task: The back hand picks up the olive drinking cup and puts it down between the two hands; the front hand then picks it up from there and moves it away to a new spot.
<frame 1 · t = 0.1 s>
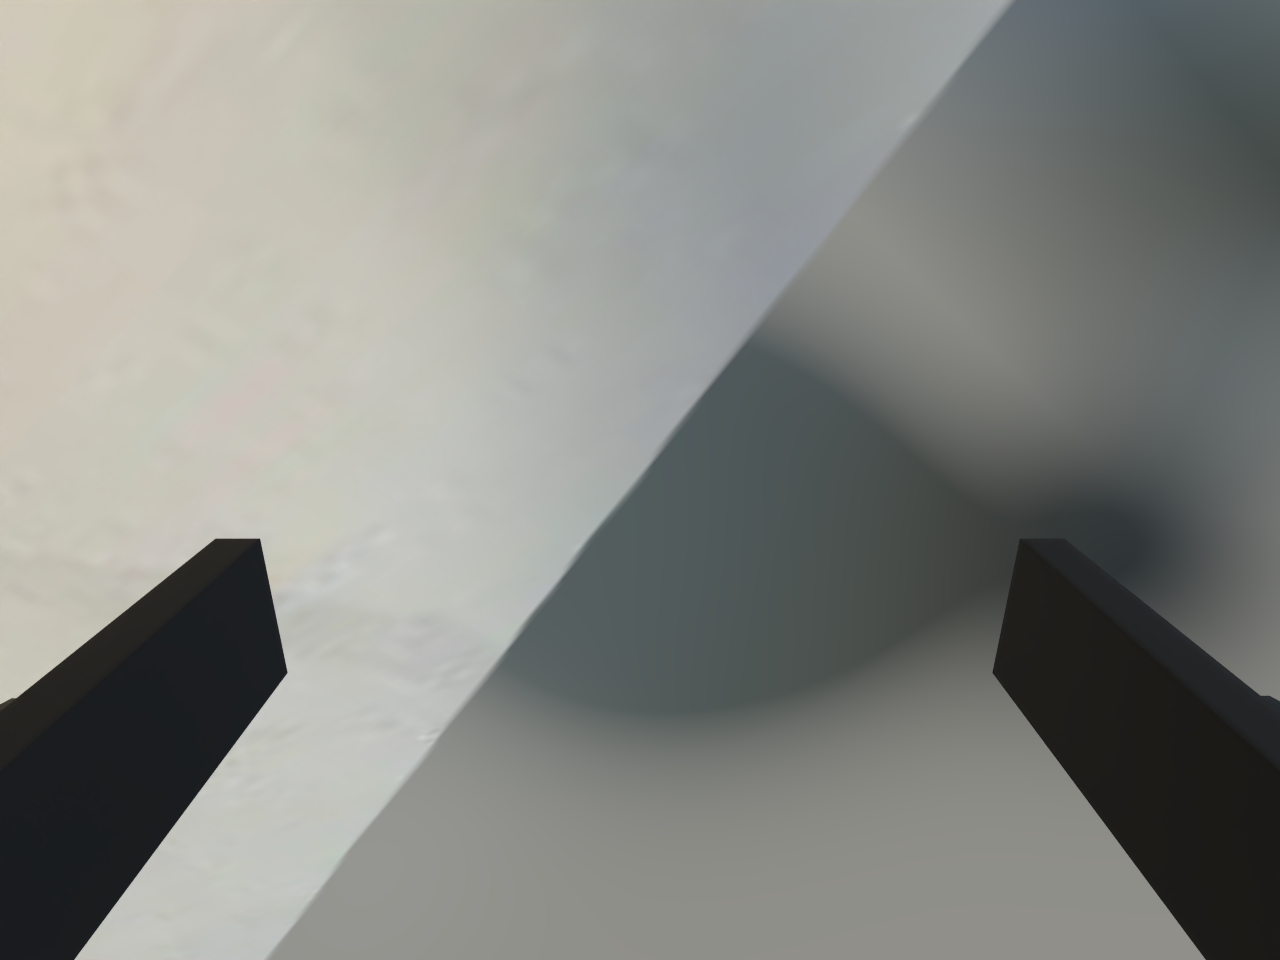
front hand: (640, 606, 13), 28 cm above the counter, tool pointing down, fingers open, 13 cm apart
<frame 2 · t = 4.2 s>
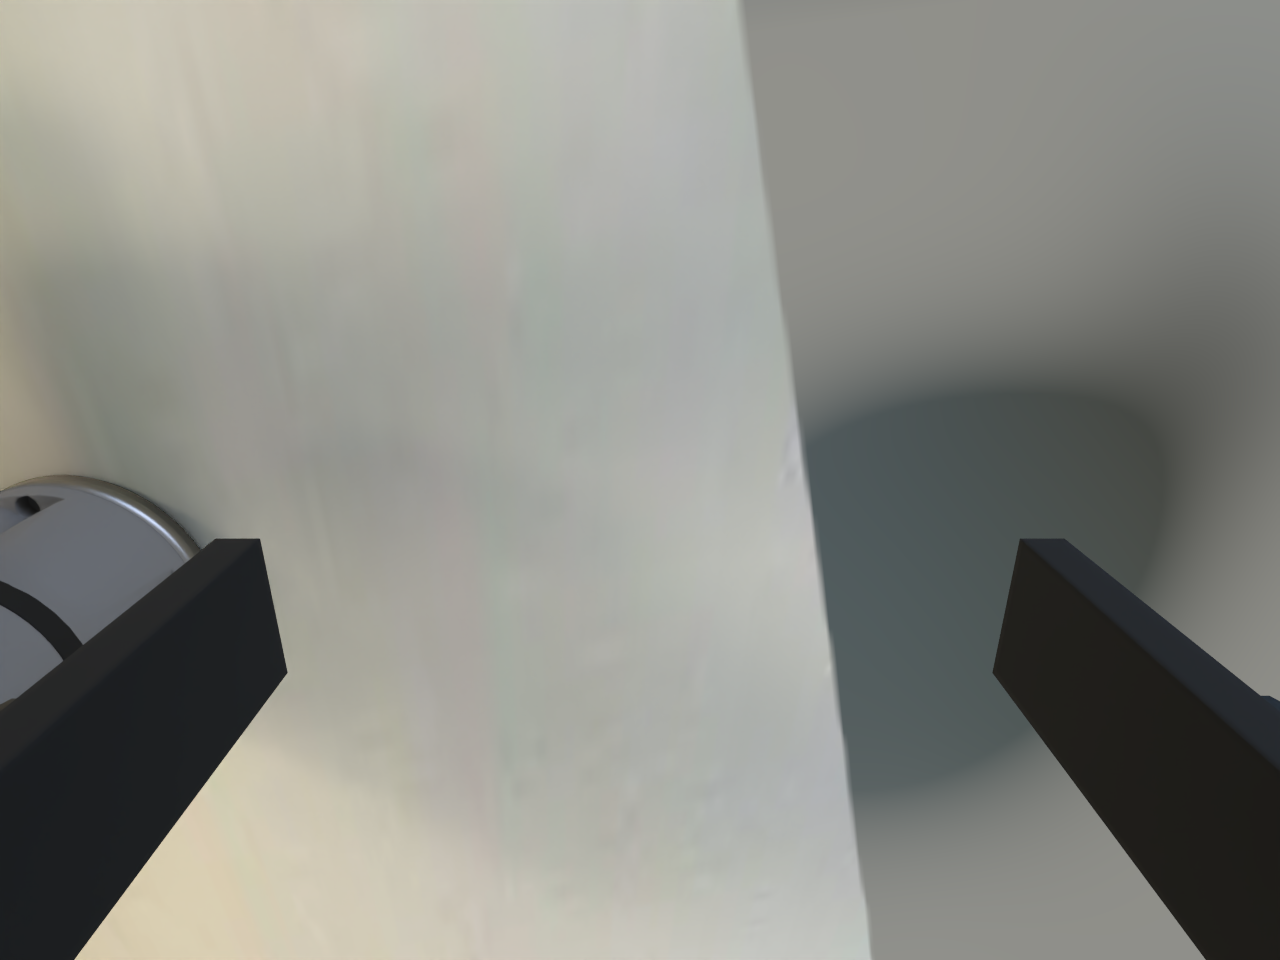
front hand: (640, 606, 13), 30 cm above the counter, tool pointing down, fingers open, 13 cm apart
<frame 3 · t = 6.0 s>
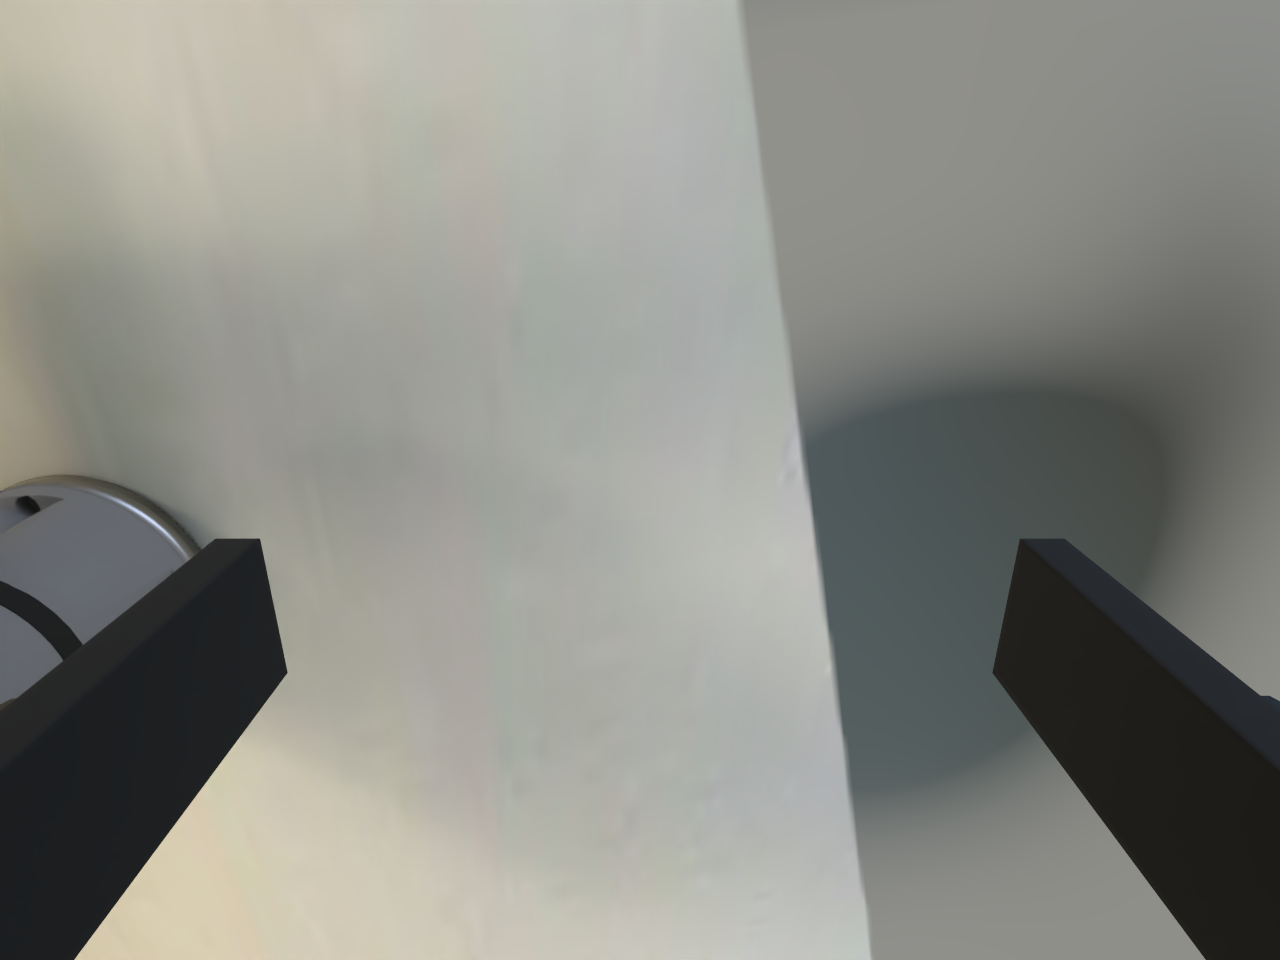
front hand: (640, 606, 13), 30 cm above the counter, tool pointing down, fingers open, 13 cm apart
when the back hand's fingers open (8 cm above the counter, at t = 8.1 s): olive drinking cup drops 2 cm, on the counter.
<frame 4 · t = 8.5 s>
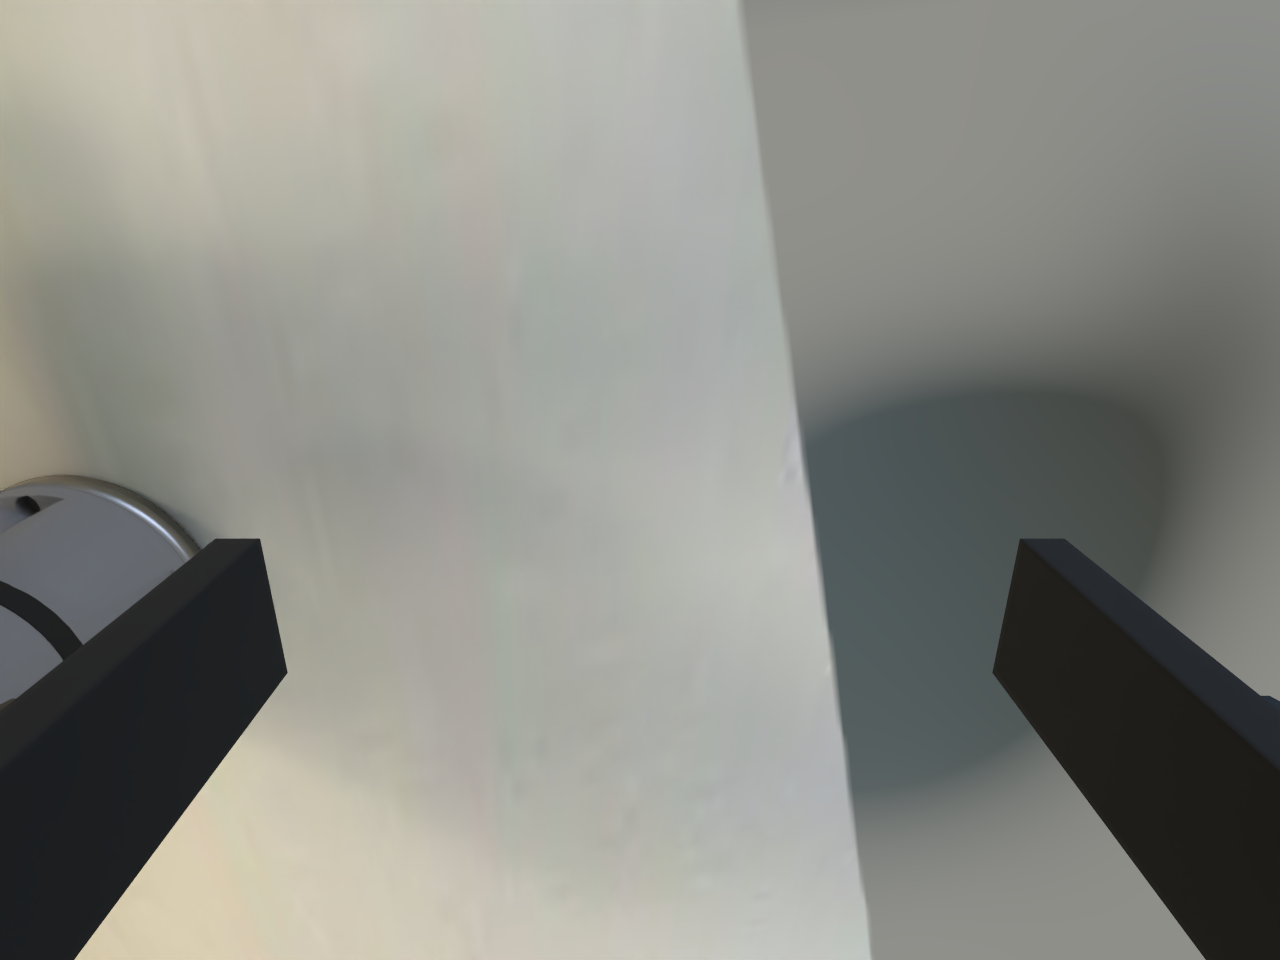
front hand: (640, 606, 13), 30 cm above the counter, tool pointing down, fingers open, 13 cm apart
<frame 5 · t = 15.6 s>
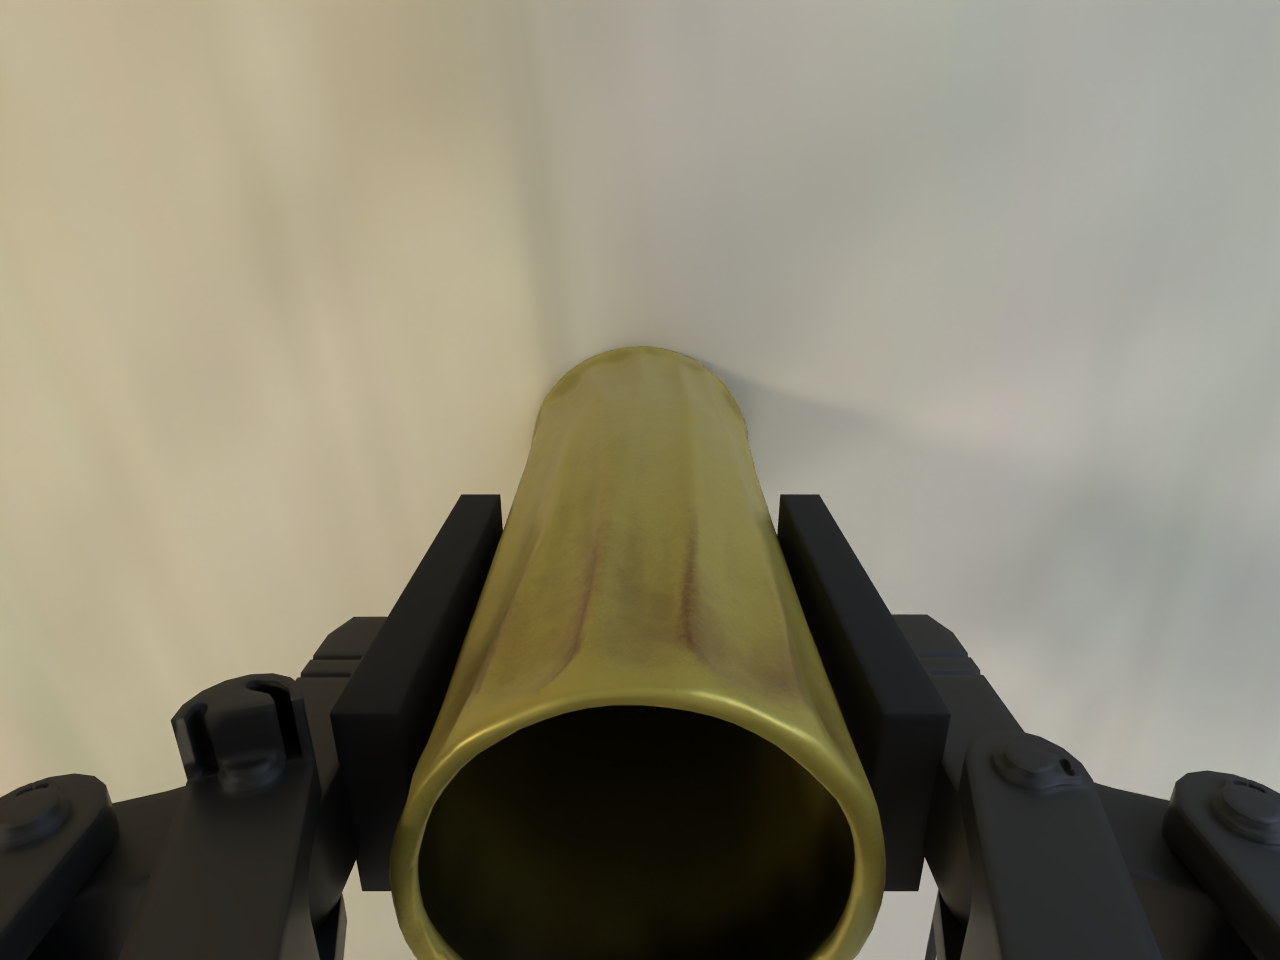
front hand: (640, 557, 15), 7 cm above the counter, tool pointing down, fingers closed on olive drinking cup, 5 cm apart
olive drinking cup: (639, 451, 21), on the counter, touching front hand
when the front hand's fingers open (8 cm above the counter, at t = 21.6 s): olive drinking cup drops 2 cm, on the counter.
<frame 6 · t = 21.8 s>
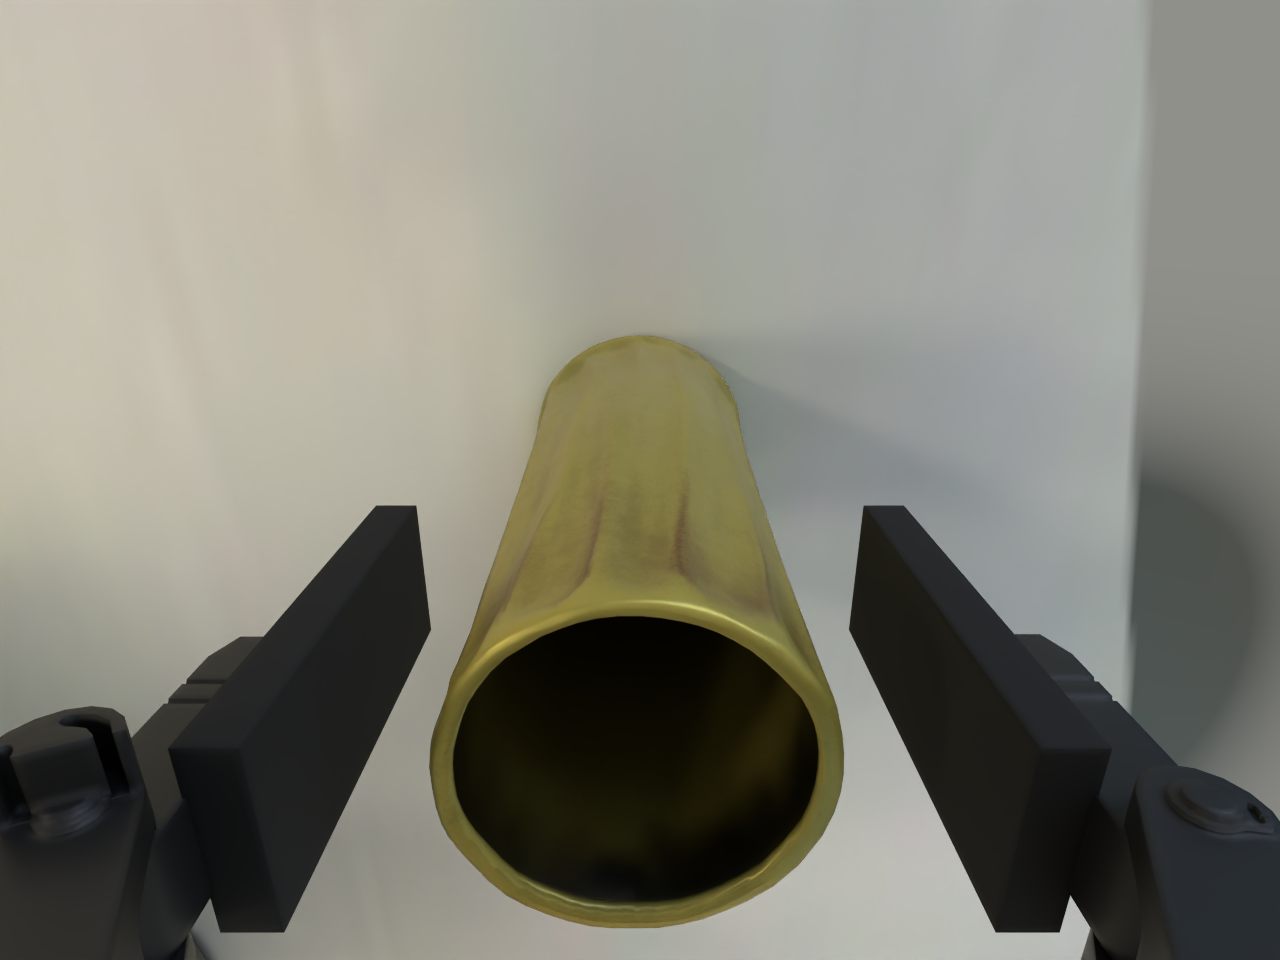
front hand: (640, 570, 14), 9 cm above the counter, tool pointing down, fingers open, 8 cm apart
olive drinking cup: (638, 434, 22), on the counter
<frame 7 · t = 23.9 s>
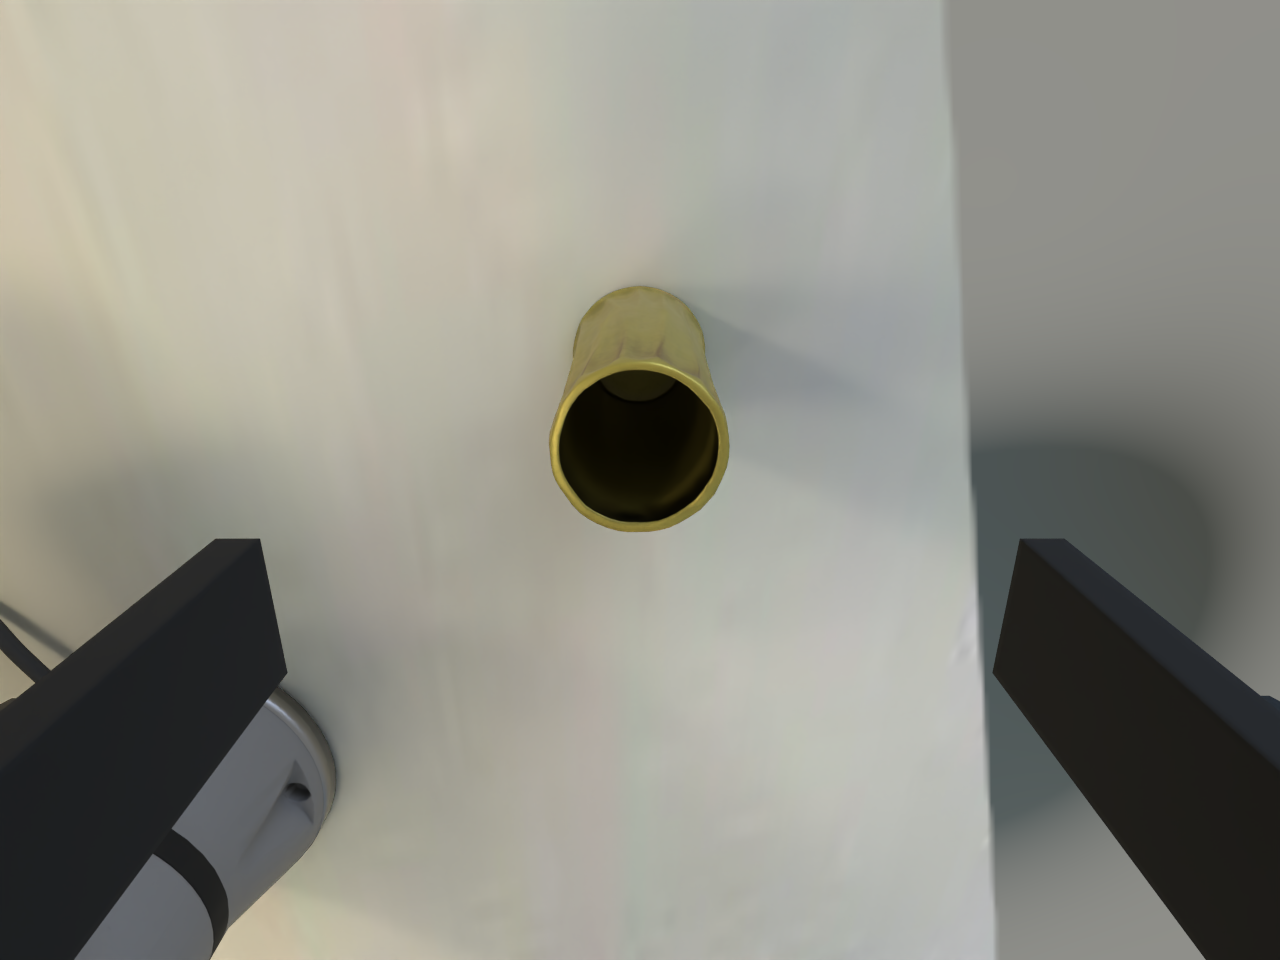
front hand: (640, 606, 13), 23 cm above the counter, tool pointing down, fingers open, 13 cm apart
olive drinking cup: (639, 352, 34), on the counter
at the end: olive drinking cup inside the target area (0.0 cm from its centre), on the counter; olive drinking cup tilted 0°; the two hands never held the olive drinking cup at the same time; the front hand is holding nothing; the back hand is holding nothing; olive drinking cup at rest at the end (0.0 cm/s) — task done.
